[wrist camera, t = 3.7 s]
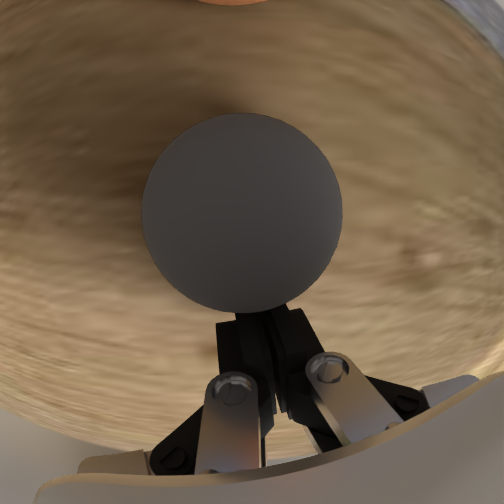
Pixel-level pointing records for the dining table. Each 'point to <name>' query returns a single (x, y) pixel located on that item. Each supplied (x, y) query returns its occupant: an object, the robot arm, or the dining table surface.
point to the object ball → (232, 2)
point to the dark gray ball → (241, 213)
